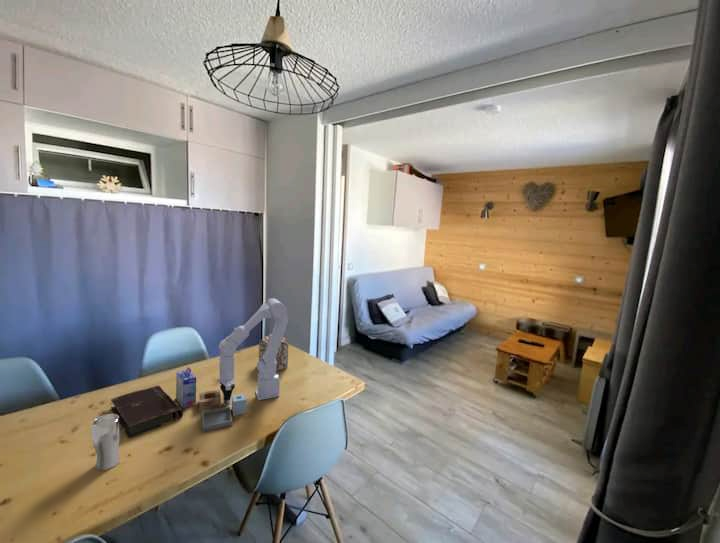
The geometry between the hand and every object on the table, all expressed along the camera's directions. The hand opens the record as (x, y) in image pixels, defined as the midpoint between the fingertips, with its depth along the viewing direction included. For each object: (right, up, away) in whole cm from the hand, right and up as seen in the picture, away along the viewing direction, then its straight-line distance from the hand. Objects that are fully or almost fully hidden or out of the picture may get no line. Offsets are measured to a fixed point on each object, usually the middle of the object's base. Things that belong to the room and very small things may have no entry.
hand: (226, 397), depth 137 cm
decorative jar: (+10, +2, +37) cm, 38 cm away
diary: (-28, -3, -10) cm, 30 cm away
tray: (+1, -5, -12) cm, 13 cm away
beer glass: (-23, -7, -36) cm, 43 cm away
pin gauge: (0, -3, 0) cm, 3 cm away
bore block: (-7, -2, -1) cm, 7 cm away
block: (+7, -4, -4) cm, 9 cm away
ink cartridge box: (-17, -2, 0) cm, 17 cm away
